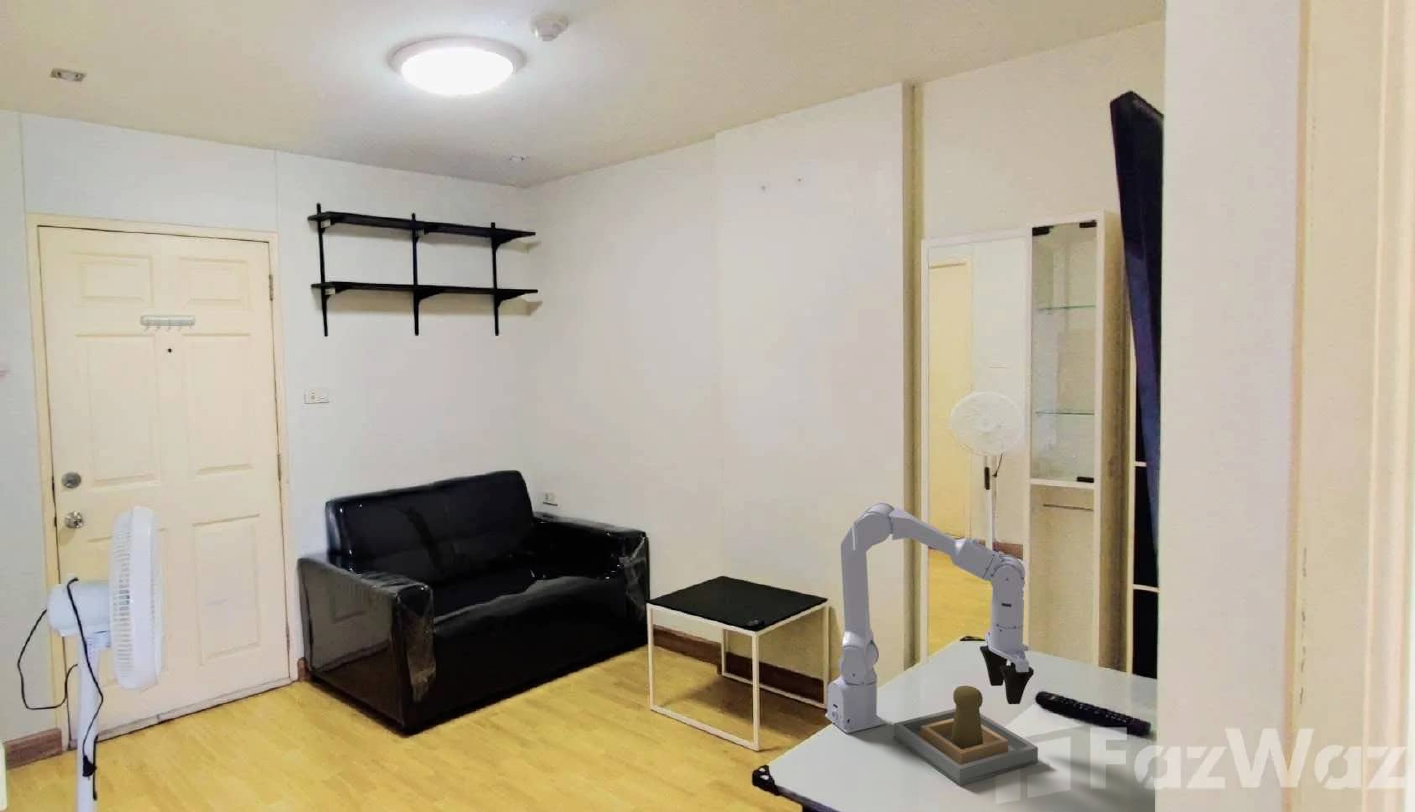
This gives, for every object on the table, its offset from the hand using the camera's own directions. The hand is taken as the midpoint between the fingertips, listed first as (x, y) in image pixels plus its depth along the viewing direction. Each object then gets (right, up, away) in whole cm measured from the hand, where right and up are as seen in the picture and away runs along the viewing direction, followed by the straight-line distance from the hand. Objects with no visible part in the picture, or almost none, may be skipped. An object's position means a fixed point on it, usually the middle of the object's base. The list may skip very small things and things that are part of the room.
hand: (1004, 694), depth 146 cm
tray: (-8, -10, 0) cm, 13 cm away
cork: (-7, -10, 0) cm, 12 cm away
